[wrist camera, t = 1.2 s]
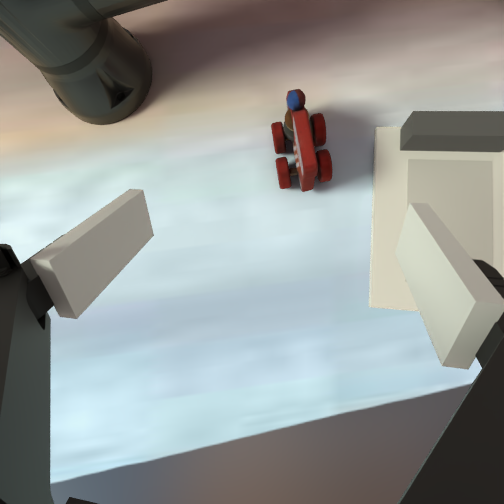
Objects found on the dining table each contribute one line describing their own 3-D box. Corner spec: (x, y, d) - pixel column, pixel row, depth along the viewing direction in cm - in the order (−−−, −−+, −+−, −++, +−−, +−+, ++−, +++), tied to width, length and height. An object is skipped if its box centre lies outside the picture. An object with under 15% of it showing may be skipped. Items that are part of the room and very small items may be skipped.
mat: (374, 130, 40) (377, 126, 39) (519, 132, 38) (526, 127, 37) (368, 306, 38) (371, 307, 37) (523, 319, 35) (531, 320, 34)
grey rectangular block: (400, 129, 39) (413, 111, 35) (499, 130, 37) (524, 111, 33) (399, 150, 39) (412, 135, 35) (499, 152, 37) (525, 136, 33)
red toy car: (317, 112, 42) (327, 55, 32) (331, 195, 40) (346, 163, 30) (269, 121, 43) (263, 68, 32) (281, 203, 41) (279, 175, 31)
